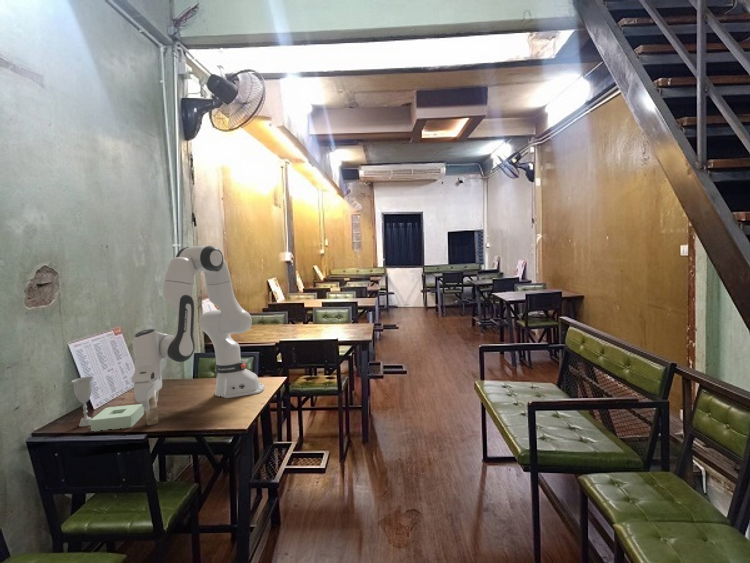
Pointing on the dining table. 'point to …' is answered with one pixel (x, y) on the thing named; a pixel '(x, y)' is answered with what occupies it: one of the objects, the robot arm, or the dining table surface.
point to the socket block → (117, 417)
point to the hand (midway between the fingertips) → (151, 406)
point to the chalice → (83, 396)
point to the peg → (152, 411)
